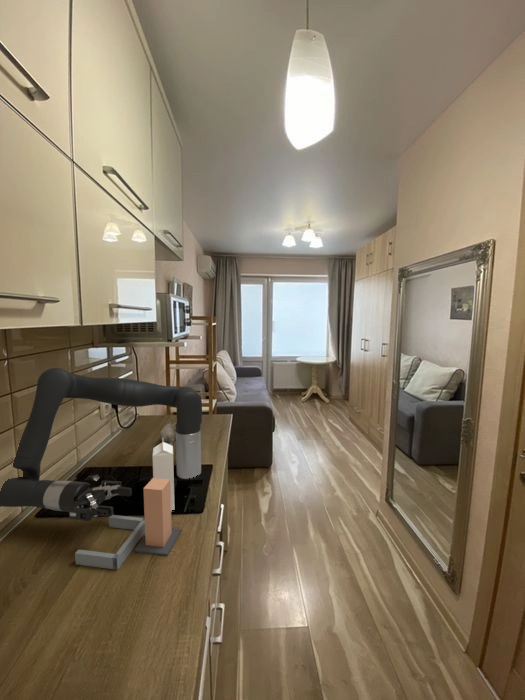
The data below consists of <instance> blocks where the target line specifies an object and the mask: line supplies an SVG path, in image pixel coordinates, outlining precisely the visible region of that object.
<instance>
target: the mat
mask: <svg viewBox="0 0 525 700" xmlns="http://www.w3.org/2000/svg"><path fill="white" fill-rule="evenodd" d="M181 532H182V528H174V527H173V528H172V534H171V536H170V537H169V539H168V541H167V542H166V544H165V546H164V547H158V546H149V545H146V540H145V535H143V536H142V539H140V540H139V541H140V542H138V543H137V545H136V547H134V548H135V549H133V550H134V553H140V554H148V555H156V556H164V557H165V556H166V557H168V556H169V554H170V552H171V551H172V549H173V547H174V545H175V544H176V542H177V540H178V538H179V536H180V535H181Z"/></svg>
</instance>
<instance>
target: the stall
mask: <svg viewBox="0 0 525 700" xmlns="http://www.w3.org/2000/svg"><path fill="white" fill-rule="evenodd" d="M108 523H109V524H108V525H109V528H112V529H113V528H115V529H123V530H132V532H131V534H130V535H129V536H128V538H127V539H126V540H125V542H124V543H123V544H122V545H121V546H120V547H119V549H118V550H117V552H116V553H110V552H101V551H96V550H95V551H94V550H88V549H87V550H85V549H78V550H76V551H75V553H74V558H75V565H78V566H84V567H93V568H101V569H110V570H114V571H115V570H116V571H117V570H119V569H120V568H121V566H122V564H123V563H124V562H125V560H126V559H127V558H128V556H129V555H130V553H131V552H132V551H133V550H134V548H136V547H135V546H137V545H138V543H139V541H141V538H143V537H144V535H145V517H135V516H128V515H126V516H125V515H118V514H113V515H112V516H108Z"/></svg>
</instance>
